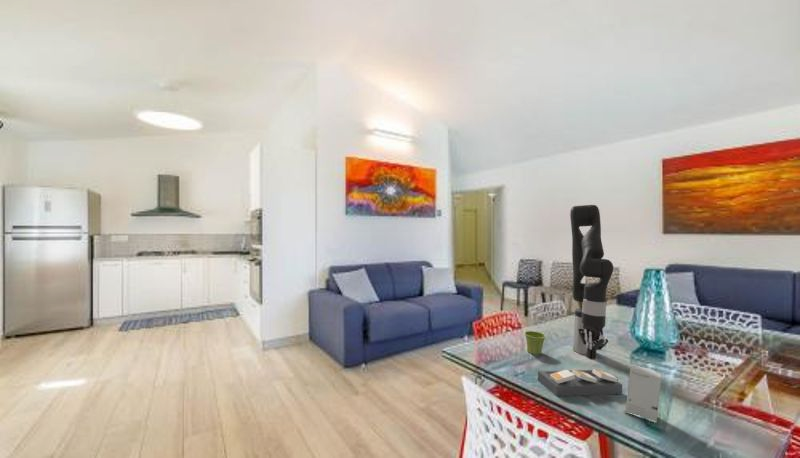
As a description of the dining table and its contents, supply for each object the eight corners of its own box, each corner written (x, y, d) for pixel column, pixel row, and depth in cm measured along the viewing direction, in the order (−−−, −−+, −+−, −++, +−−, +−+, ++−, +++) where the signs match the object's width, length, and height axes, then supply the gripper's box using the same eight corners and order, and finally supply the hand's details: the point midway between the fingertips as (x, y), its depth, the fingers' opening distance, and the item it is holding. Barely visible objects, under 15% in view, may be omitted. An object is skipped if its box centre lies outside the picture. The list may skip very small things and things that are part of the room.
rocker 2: (587, 377, 124) (588, 373, 124) (595, 383, 120) (597, 379, 120) (571, 372, 123) (572, 368, 123) (579, 378, 119) (580, 374, 119)
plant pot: (547, 357, 151) (548, 338, 151) (525, 354, 153) (526, 336, 153) (542, 349, 160) (543, 332, 160) (522, 347, 162) (523, 330, 162)
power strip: (610, 378, 132) (611, 367, 132) (636, 393, 121) (637, 381, 120) (537, 379, 128) (538, 368, 128) (556, 396, 116) (557, 383, 116)
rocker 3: (607, 376, 125) (608, 372, 125) (616, 382, 121) (617, 378, 121) (591, 372, 124) (593, 368, 124) (600, 377, 120) (601, 373, 120)
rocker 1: (567, 372, 123) (566, 369, 123) (575, 378, 118) (574, 374, 118) (550, 378, 122) (549, 374, 122) (557, 383, 117) (557, 379, 117)
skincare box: (625, 413, 107) (628, 368, 106) (627, 406, 111) (630, 363, 111) (658, 425, 101) (661, 377, 101) (659, 416, 106) (661, 371, 106)
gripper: (617, 317, 115) (614, 366, 115) (590, 307, 128) (587, 351, 129) (597, 317, 114) (595, 366, 114) (572, 307, 127) (570, 351, 127)
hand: (591, 358), depth 121 cm, fingers closed
